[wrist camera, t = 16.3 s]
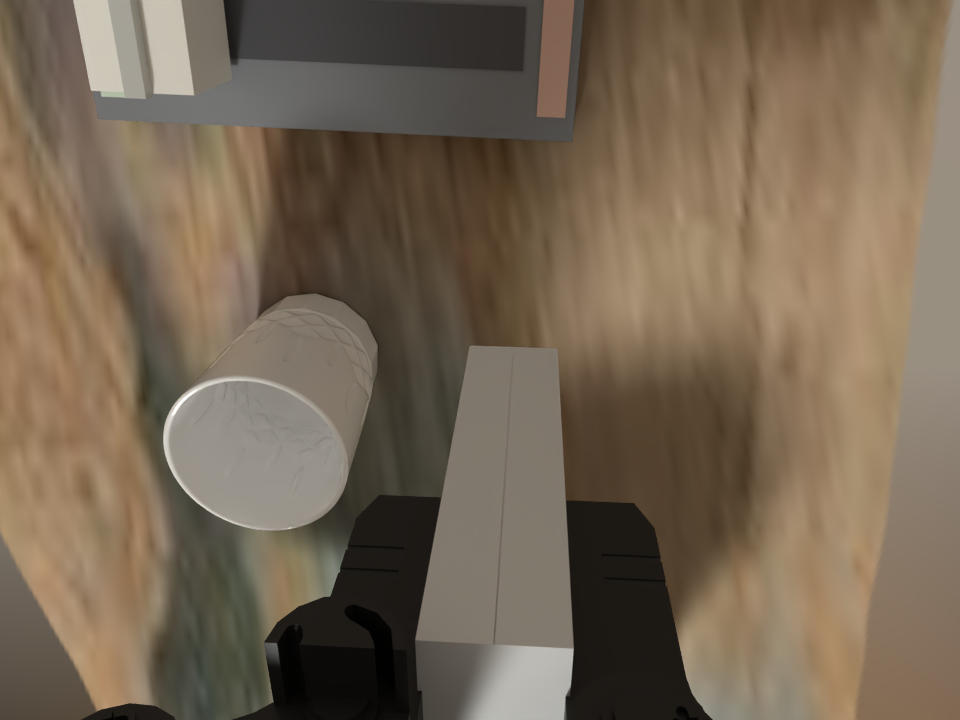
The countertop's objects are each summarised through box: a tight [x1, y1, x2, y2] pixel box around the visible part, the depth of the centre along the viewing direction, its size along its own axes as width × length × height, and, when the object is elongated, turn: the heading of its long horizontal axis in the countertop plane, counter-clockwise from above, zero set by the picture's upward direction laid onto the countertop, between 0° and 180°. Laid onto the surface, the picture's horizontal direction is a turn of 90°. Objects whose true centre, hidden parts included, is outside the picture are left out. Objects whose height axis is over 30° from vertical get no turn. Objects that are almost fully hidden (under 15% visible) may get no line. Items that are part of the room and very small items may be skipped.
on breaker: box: [73, 0, 232, 99], centre depth 30 cm, size 4×4×5 cm
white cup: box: [163, 293, 378, 531], centre depth 37 cm, size 8×8×10 cm
